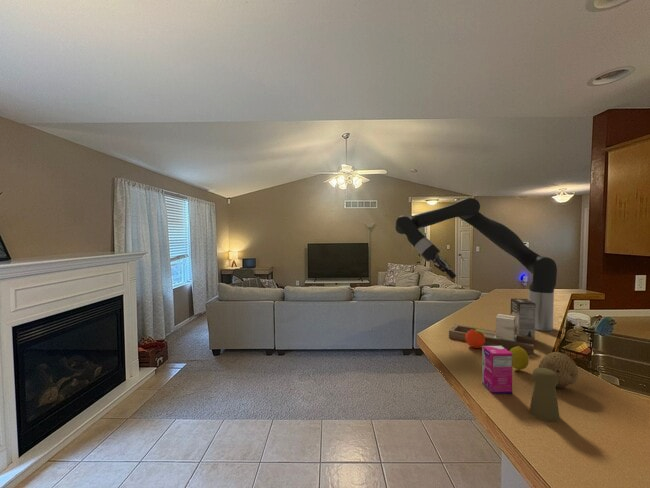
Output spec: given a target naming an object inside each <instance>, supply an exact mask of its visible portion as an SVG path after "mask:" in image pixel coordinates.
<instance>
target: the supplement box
mask: <svg viewBox="0 0 650 488" xmlns="http://www.w3.org/2000/svg"><path fill="white" fill-rule="evenodd" d="M481 350H482V355H481V356H482V357H481V359H482V361H481V362H482V364H481V367H482V368H481V369H482V371H481V372H482V373H481V374H482V375H481V376H482V377H481V380H482V385H483V386H485V388H487V390H489V392H490V393H491V394H495V395H497V394H498V395H500V394H501V395H504V394H505V395H506V394H507V395H508V394H509V395H513V367H512V353H511V352H509V351H510V350H509V349H505V348H504V347H502V346H489V345H483V346H482V347H481Z"/></svg>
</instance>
